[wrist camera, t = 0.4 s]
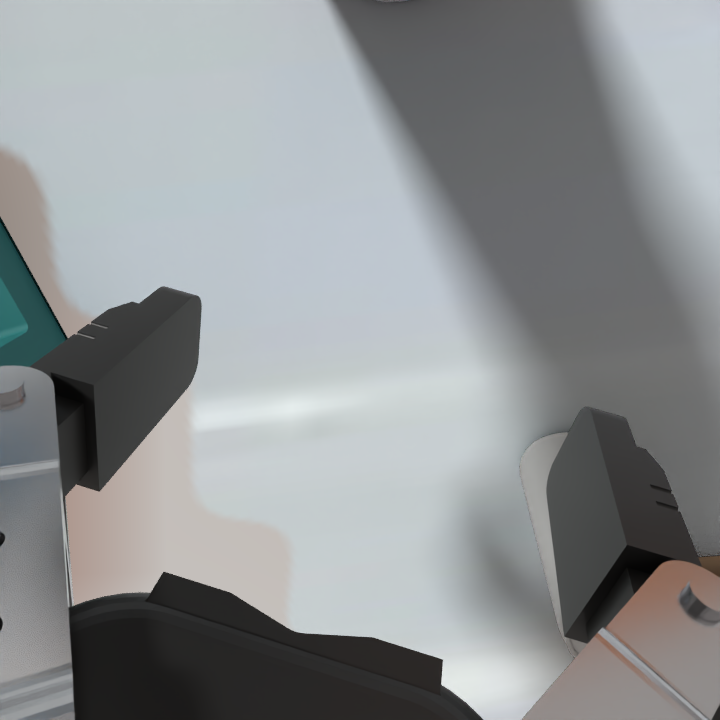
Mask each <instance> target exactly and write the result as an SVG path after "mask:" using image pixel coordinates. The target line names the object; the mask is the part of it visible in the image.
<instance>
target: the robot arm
mask: <svg viewBox="0 0 720 720" xmlns="http://www.w3.org/2000/svg"><path fill="white" fill-rule="evenodd" d="M375 1H381V2H398V1H409V0H375ZM200 324H201V300H200V298H199V296H196V295H193V294H189V293H186V292H182V291H179V290H175V289H172V288H168V287H160V288H159V289H157V290H156V291H155V292H153V293H152V294H151V295H150V296H148V297H147V298H146V299H144V300H143V301H142V302H141V303H139V304H138V303H135V302H130V303H127V304H124V305H121V306H118V307H115V308H111V309H108V310H107V311H106V312H104V313H103V314H101V315H100V316H99V317H97V318H96V319H94V320H93V321H92V322H91V325H89V324H88V325H86V326H85V327H83V328H82V329H81V330H79V331H78V333H77V335H75V334H74V335H72V336H71V337H70V338H68V339H67V340H66V341H64V342H63V343H61V344H60V345H59V346H57V347H56V348H54V349H53V350H52V351H50V352H49V353H48V354H46V355H45V356H43V357H42V358H41V359H39V360H38V361H37V362H35V363H34V364H32V365H31V366H30V367H25V366H0V720H483V719H482V718H481V717H480V716H479V715H478V714H477V713H476V712H475V711H474V710H473V709H472V708H471V707H470V706H469V705H468V704H467V703H466V702H464V701H463V700H462V699H460V698H459V697H458V696H457V695H455V694H454V693H453V692H451V691H450V690H448V689H447V688H445V687H444V686H442V685H441V677H442V664H443V660H442V659H439V658H436V657H433V656H430V655H426V654H423V653H420V652H417V651H414V650H411V649H407V648H404V647H401V646H398V645H395V644H391V643H388V642H385V641H382V640H379V639H376V638H372V637H355V636H338V635H321V634H305V633H298V632H294V631H292V630H290V629H288V628H286V627H285V626H283V625H282V624H280V623H278V622H277V621H275V620H273V619H272V618H270V617H269V616H267V615H265V614H264V613H262V612H260V611H259V610H257V609H256V608H254V607H253V606H251V605H249V604H247V603H246V602H244V601H243V600H241V599H240V598H238V597H237V596H235V595H233V594H232V593H230V592H226V591H223V590H220V589H217V588H214V587H211V586H207V585H204V584H201V583H198V582H194V581H191V580H188V579H185V578H182V577H179V576H176V575H173V574H169V573H166V572H163V574H162V575H161V577H160V579H159V580H158V582H157V584H156V585H155V587H154V588H153V590H152V592H151V593H124V594H117V595H111V596H104V597H101V598H97V599H93V600H89V601H85V602H83V603H80V604H77V605H75V606H74V601H73V591H72V590H73V589H72V576H71V565H70V564H71V563H70V551H69V537H68V524H67V512H66V500H65V496H66V495H67V494H68V493H69V491H70V490H71V489H72V488H73V487H74V486H75V485H76V484H77V485H80V486H83V487H86V488H90V489H93V490H96V491H100V490H101V489H102V488H103V487H104V486H105V485H106V483H107V482H108V481H109V480H110V479H111V477H112V476H113V475H114V474H115V473H116V471H117V470H118V469H119V468H120V467H121V466H122V465H123V463H124V462H125V461H126V460H127V459H128V457H129V456H130V455H131V454H132V453H133V452H134V450H135V449H136V448H137V447H138V446H139V445H140V443H141V442H142V441H143V440H144V439H145V437H146V436H147V435H148V434H149V433H150V432H151V430H152V429H153V428H154V427H155V426H156V425H157V423H158V422H159V421H160V420H161V419H162V417H163V416H164V415H165V414H166V413H167V412H168V410H169V409H170V408H171V407H172V406H173V404H174V403H175V402H176V401H177V400H178V399H179V397H180V396H181V395H182V394H183V393H184V392H185V390H186V389H187V388H188V387H189V385H190V384H191V382H192V380H193V377H194V375H195V372H196V369H197V364H198V356H199V340H200ZM671 491H672V490H671V488H670V485H669V483H668V480H667V478H666V475H665V473H664V470H663V469H662V468H661V467H660V465H659V464H658V463H657V462H656V461H655V460H654V458H653V457H652V456H651V455H650V454H649V453H648V451H647V450H646V449H643V448H640V447H636V444H635V441H634V439H633V436H632V433H631V430H630V427H629V425H628V422H627V420H626V419H625V418H624V417H622V416H618V415H615V414H611V413H607V412H604V411H600V410H597V409H593V408H590V407H584V408H583V409H582V410H581V411H580V412H579V414H578V416H577V417H576V419H575V421H574V423H573V425H572V427H571V429H570V431H569V433H568V435H567V437H566V439H565V440H564V442H563V444H562V446H561V448H560V450H559V452H558V454H557V456H556V458H555V460H554V462H553V464H552V466H551V469H550V472H549V475H548V480H547V487H546V495H547V503H548V511H549V519H550V527H551V535H552V543H553V551H554V559H555V567H556V575H557V583H558V591H559V599H560V608H561V616H562V624H563V632H564V637H567V638H570V639H573V640H576V641H580V642H583V643H586V644H587V645H586V646H585V648H584V649H583V650H582V651H581V652H580V653H579V654H578V656H577V657H576V658H575V659H574V660H573V661H572V662H571V664H570V665H569V666H568V667H567V668H566V669H565V670H564V672H563V673H562V674H561V675H560V676H559V677H558V678H557V680H556V681H555V682H554V683H553V684H552V685H551V686H550V688H549V689H548V690H547V691H546V692H545V693H544V694H543V696H542V697H541V698H540V699H539V700H538V701H537V702H536V704H535V705H534V706H533V707H532V708H531V709H530V710H529V712H528V713H527V714H526V715H525V716H524V717H523V718H522V720H720V578H719V577H718V576H716V575H715V574H713V573H712V572H710V571H708V570H706V569H704V568H702V565H701V563H700V560H699V558H698V555H697V553H696V550H695V548H694V545H693V543H692V540H691V538H690V535H689V533H688V530H687V528H686V525H685V523H684V520H683V518H682V515H681V513H680V512H679V511H678V505H677V503H676V500H675V498H674V495H673V494H671Z"/></svg>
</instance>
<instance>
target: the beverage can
mask: <svg viewBox="0 0 720 720" xmlns="http://www.w3.org/2000/svg"><path fill="white" fill-rule="evenodd" d="M568 433H569V432H563V433H555V434H551V435H547V436H544V437H542V438H540V439H538V440H536V441H534V442H533V443H532V444H531V445H530V446H529V447H528V448H527V449H526V451H525V452H524V454H523V456H522V458H521V462H520V466H519V468H520V477H521V481H522V485H523V489H524V493H525V497H526V501H527V505H528V509H529V513H530V517H531V521H532V525H533V529H534V533H535V537H536V541H537V545H538V549H539V553H540V557H541V561H542V565H543V569H544V573H545V577H546V581H547V585H548V589H549V593H550V597H551V601H552V605H553V609H554V613H555V617H556V621H557V625H558V628H559V631H560V633H561V635H562V637H563V640H564V641H565V643H566V645H567V647H568V649H569V652H570V654H571V655H572V656H573V657H574V658H576V657H577V656H578V654H579V653H580V652H581V651H582V650H583V649H584V648H585V646H586V645H587V644H586V643H583V642H580V641H576V640H573V639H570V638H567V637H564V632H563V624H562V616H561V608H560V599H559V591H558V583H557V575H556V567H555V559H554V551H553V543H552V535H551V527H550V519H549V511H548V503H547V495H546V487H547V480H548V475H549V472H550V469H551V466H552V464H553V462H554V460H555V458H556V456H557V454H558V452H559V450H560V448H561V446H562V444H563V442H564V440H565V439H566V437H567V435H568Z"/></svg>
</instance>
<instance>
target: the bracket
mask: <svg viewBox="0 0 720 720" xmlns="http://www.w3.org/2000/svg"><path fill="white" fill-rule="evenodd" d="M67 339H68V338H67V336H66V334H65V332H64V330H63V328H62V327H61V325H60V323H59V321H58V320H57V318H56V316H55V314H54V312H53V311H52V309H51V307H50V305H49V303H48V301H47V300H46V298H45V296H44V294H43V292H42V291H41V289H40V287H39V285H38V283H37V282H36V280H35V278H34V276H33V274H32V273H31V271H30V269H29V267H28V265H27V264H26V262H25V260H24V258H23V256H22V255H21V253H20V251H19V249H18V247H17V246H16V244H15V242H14V240H13V238H12V237H11V235H10V233H9V231H8V229H7V228H6V226H5V224H4V222H3V220H2V219H1V217H0V366H25V367H30V366H31V365H32V364H34V363H35V362H37V361H38V360H39V359H41V358H42V357H43V356H45V355H46V354H48V353H49V352H50V351H52V350H53V349H54V348H56V347H57V346H59V345H60V344H61V343H63V342H64V341H66V340H67Z"/></svg>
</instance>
